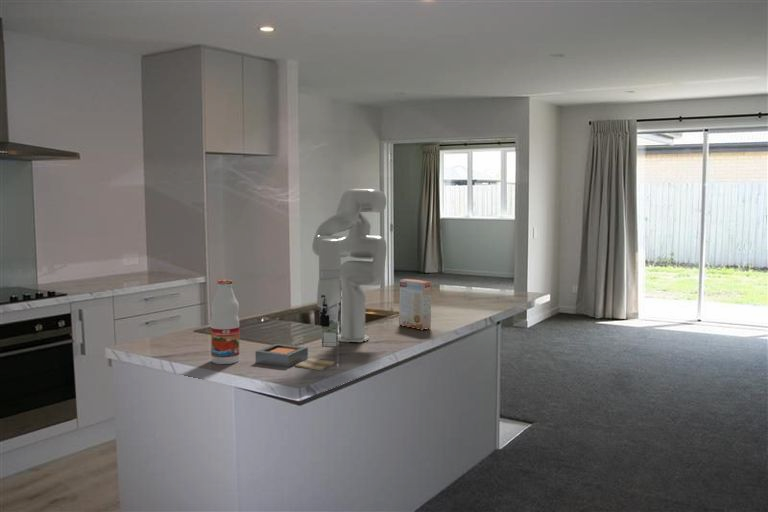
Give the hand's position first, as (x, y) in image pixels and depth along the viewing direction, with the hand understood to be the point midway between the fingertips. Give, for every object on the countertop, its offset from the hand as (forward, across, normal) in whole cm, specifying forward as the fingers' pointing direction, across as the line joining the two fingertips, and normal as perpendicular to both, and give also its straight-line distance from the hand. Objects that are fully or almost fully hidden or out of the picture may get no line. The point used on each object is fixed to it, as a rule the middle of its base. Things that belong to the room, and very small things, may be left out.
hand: (330, 323), depth 232 cm
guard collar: (+12, +12, -13) cm, 21 cm away
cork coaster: (+12, +12, 0) cm, 17 cm away
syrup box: (+8, 0, 0) cm, 8 cm away
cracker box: (+15, -63, +9) cm, 66 cm away
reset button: (+9, +11, -13) cm, 20 cm away
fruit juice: (+12, +21, -30) cm, 38 cm away
